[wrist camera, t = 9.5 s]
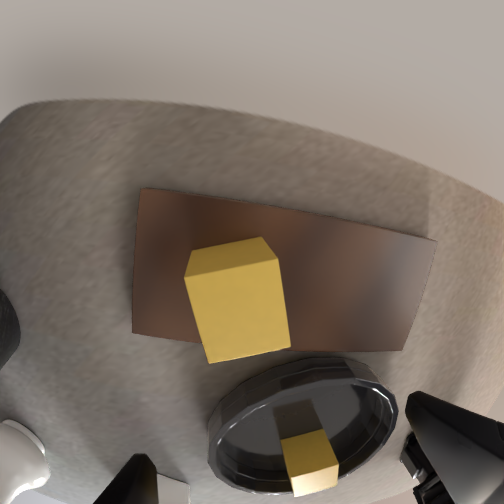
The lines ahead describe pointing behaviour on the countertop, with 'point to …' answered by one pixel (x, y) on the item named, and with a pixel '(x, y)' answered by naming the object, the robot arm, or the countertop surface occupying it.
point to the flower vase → (20, 461)
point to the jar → (172, 491)
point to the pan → (298, 420)
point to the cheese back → (310, 462)
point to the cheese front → (237, 299)
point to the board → (283, 270)
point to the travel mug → (8, 330)
